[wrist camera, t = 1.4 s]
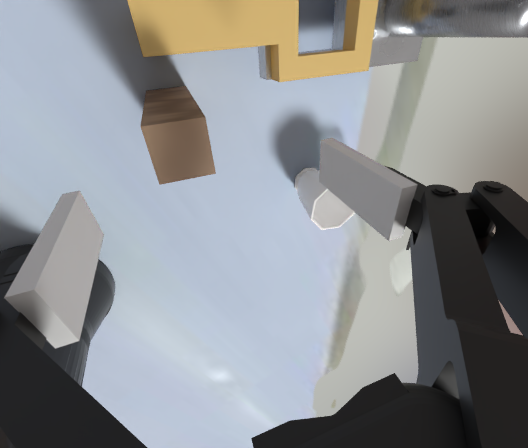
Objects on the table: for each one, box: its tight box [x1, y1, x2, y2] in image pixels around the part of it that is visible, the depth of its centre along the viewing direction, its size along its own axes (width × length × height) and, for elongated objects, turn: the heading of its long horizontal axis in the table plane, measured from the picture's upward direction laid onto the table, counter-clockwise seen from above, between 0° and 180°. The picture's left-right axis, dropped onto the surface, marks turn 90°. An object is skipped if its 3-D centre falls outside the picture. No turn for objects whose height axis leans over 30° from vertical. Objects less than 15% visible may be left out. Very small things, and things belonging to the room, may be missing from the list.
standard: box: [258, 0, 528, 80], centre depth 22 cm, size 18×9×18 cm, turn 93°
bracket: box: [127, 0, 378, 82], centre depth 24 cm, size 20×9×8 cm, turn 93°
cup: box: [294, 168, 355, 230], centre depth 37 cm, size 7×10×8 cm
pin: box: [141, 86, 216, 184], centre depth 24 cm, size 4×4×14 cm
